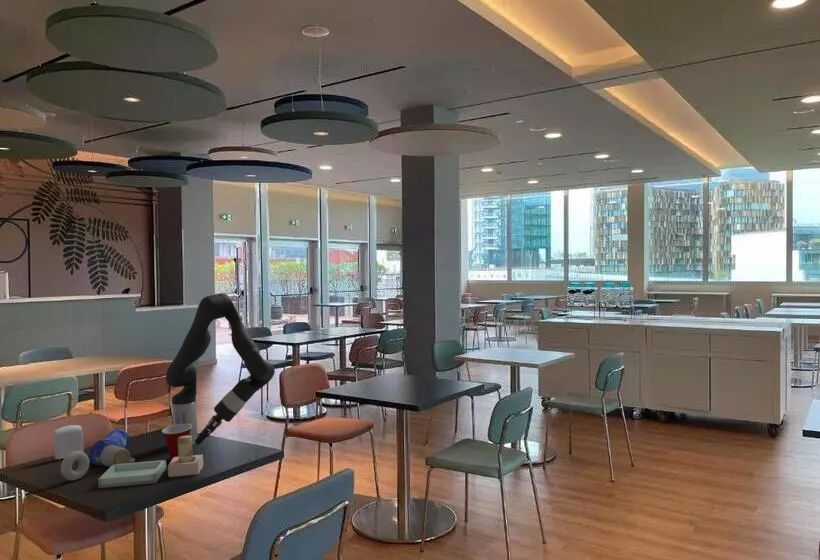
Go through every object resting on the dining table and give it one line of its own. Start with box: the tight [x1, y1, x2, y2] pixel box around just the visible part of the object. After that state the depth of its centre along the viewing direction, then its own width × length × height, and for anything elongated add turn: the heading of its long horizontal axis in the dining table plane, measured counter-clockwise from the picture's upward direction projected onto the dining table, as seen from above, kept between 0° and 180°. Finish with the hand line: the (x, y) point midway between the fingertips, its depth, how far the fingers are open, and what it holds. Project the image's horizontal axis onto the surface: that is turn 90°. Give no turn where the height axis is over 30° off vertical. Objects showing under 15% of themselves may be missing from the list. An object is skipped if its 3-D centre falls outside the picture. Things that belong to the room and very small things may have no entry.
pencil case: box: [88, 428, 131, 466], centre depth 237 cm, size 22×9×10 cm, turn 7°
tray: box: [97, 459, 167, 489], centre depth 211 cm, size 16×18×3 cm
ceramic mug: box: [100, 445, 136, 468], centre depth 226 cm, size 11×8×8 cm
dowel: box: [178, 436, 194, 463], centre depth 216 cm, size 5×5×12 cm
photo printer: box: [53, 424, 85, 459], centre depth 240 cm, size 10×4×12 cm, turn 137°
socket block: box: [167, 454, 204, 478], centre depth 216 cm, size 10×10×4 cm
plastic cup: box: [161, 424, 192, 461], centre depth 232 cm, size 11×11×12 cm
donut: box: [60, 451, 90, 481], centre depth 212 cm, size 10×4×10 cm, turn 154°
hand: (198, 439), depth 217 cm, fingers open, 8 cm apart
